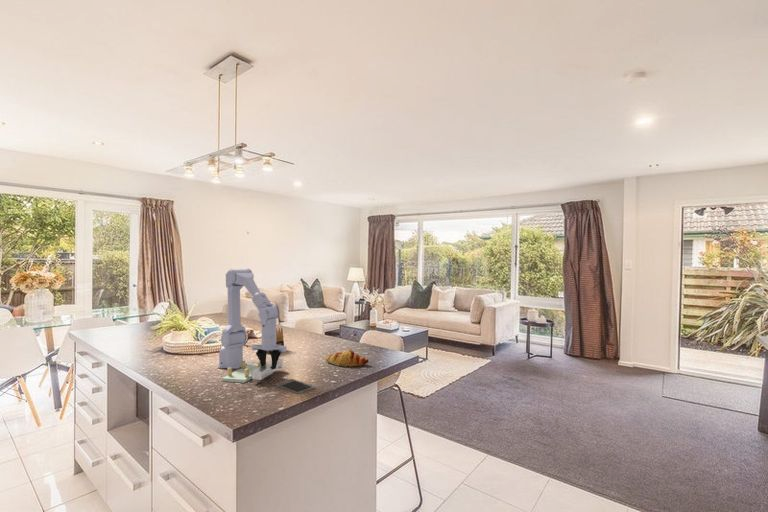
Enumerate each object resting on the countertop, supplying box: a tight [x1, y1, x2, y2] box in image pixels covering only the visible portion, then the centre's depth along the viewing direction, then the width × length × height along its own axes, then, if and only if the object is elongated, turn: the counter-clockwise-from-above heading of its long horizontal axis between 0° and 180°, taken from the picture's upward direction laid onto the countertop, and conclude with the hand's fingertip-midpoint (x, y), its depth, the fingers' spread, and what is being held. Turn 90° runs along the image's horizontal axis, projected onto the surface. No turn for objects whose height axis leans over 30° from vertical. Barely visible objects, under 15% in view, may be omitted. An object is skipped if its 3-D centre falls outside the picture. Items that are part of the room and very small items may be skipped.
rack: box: [221, 360, 261, 384], centre depth 152 cm, size 10×20×4 cm, turn 169°
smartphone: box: [274, 378, 316, 395], centre depth 137 cm, size 15×8×1 cm, turn 50°
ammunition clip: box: [267, 327, 285, 355], centre depth 188 cm, size 11×2×12 cm, turn 150°
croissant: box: [325, 349, 369, 367], centre depth 166 cm, size 21×10×8 cm, turn 74°
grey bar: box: [252, 358, 283, 381], centre depth 148 cm, size 18×5×3 cm, turn 169°
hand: (268, 368), depth 149 cm, fingers closed on grey bar, 4 cm apart
